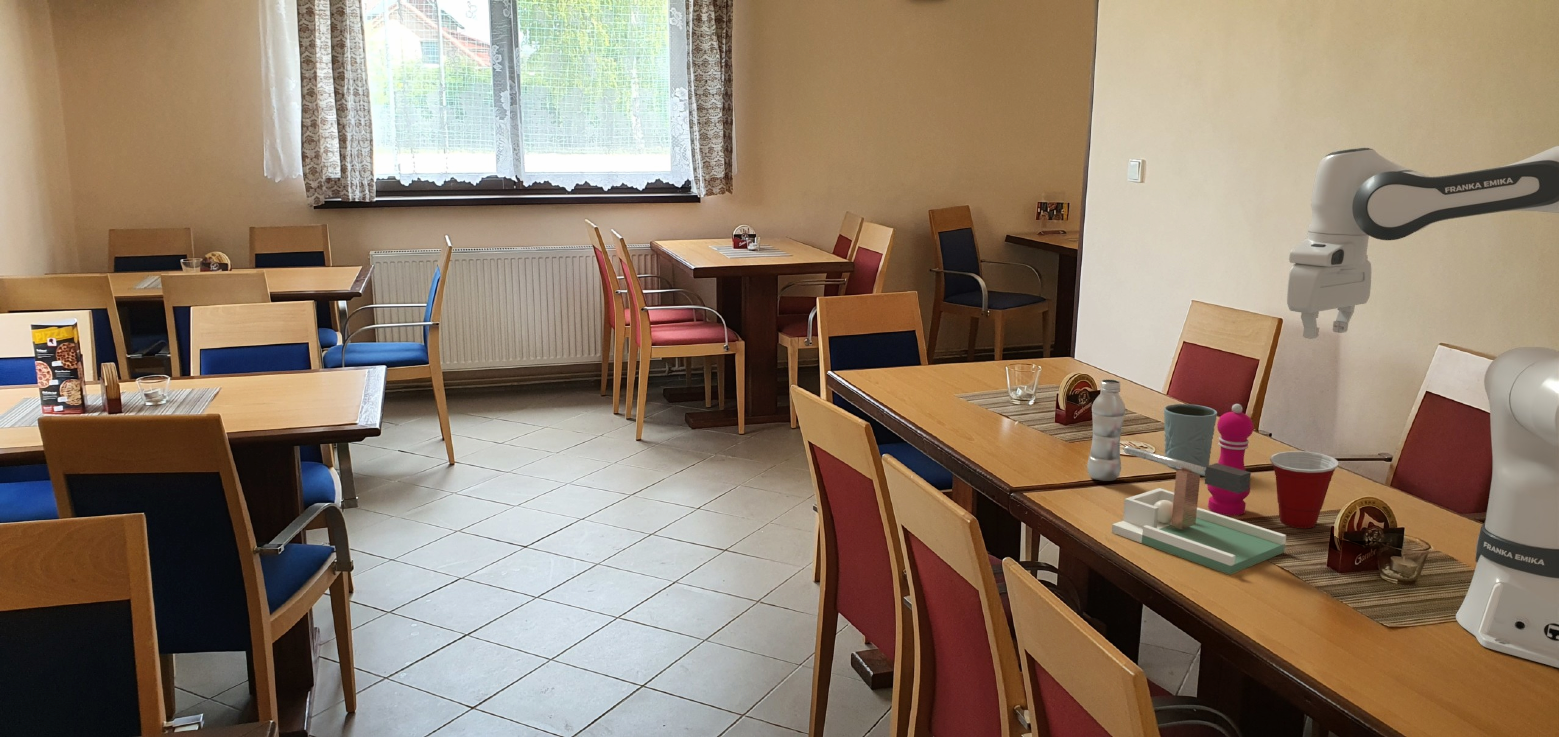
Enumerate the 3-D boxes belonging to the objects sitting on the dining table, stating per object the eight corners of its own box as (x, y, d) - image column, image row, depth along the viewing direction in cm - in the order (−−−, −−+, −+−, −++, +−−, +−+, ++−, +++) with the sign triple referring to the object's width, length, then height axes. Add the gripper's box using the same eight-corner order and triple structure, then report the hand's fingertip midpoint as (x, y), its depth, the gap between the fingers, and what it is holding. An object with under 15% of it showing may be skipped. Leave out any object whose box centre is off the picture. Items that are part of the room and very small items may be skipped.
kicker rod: (1244, 540, 175) (1252, 471, 172) (1231, 545, 172) (1238, 476, 170) (1127, 502, 193) (1132, 439, 190) (1113, 506, 190) (1118, 442, 188)
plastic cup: (1250, 512, 194) (1258, 449, 191) (1307, 511, 195) (1315, 448, 193) (1284, 534, 184) (1292, 468, 181) (1343, 533, 185) (1352, 467, 182)
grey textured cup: (1219, 473, 217) (1225, 416, 214) (1169, 472, 217) (1174, 415, 214) (1200, 458, 227) (1206, 403, 224) (1152, 457, 227) (1157, 403, 224)
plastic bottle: (1124, 477, 213) (1132, 380, 209) (1114, 486, 208) (1122, 386, 203) (1091, 472, 217) (1099, 376, 212) (1081, 480, 211) (1089, 382, 207)
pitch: (1284, 552, 176) (1287, 520, 175) (1229, 574, 167) (1233, 541, 165) (1166, 513, 193) (1169, 484, 192) (1111, 532, 184) (1114, 502, 183)
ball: (1160, 496, 187) (1161, 518, 187) (1147, 500, 184) (1147, 523, 185) (1181, 499, 183) (1181, 522, 184) (1167, 504, 181) (1168, 527, 182)
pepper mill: (1251, 518, 191) (1263, 410, 187) (1209, 514, 193) (1220, 407, 189) (1243, 504, 198) (1254, 400, 194) (1201, 501, 200) (1212, 398, 195)
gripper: (1347, 245, 181) (1337, 326, 184) (1283, 252, 169) (1274, 338, 172) (1386, 249, 176) (1375, 331, 179) (1323, 256, 164) (1312, 344, 167)
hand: (1325, 335), depth 175 cm, fingers open, 8 cm apart
